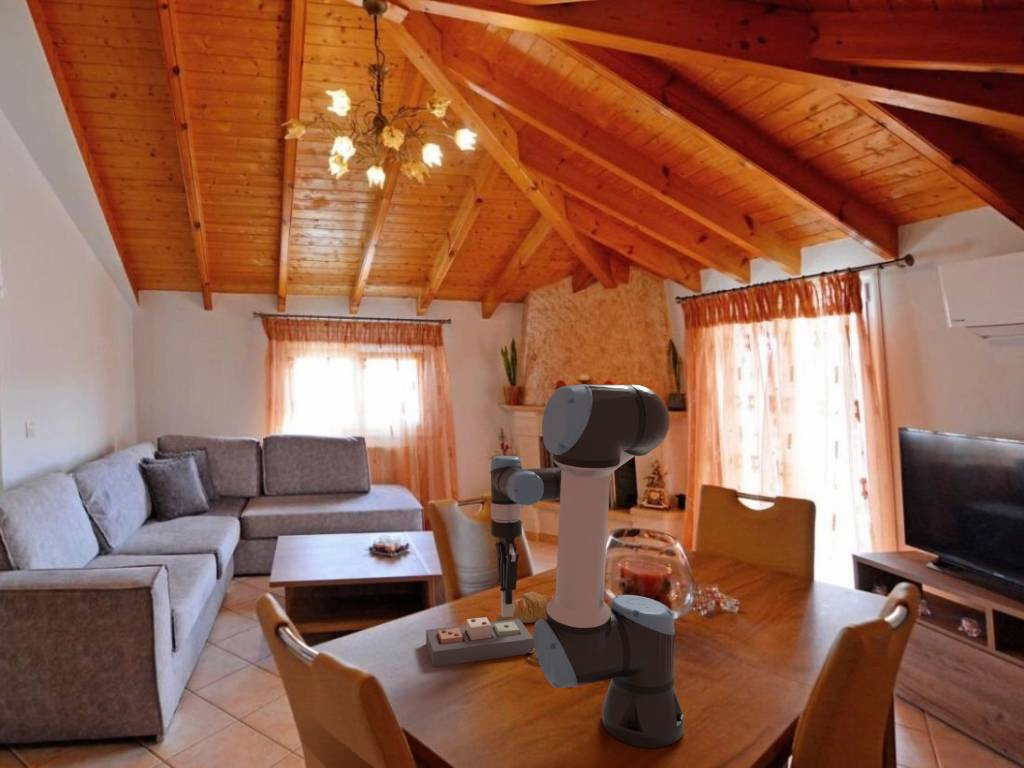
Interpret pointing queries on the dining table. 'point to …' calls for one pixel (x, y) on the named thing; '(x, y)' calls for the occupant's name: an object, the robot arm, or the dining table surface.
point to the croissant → (528, 608)
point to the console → (478, 645)
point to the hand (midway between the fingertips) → (507, 615)
